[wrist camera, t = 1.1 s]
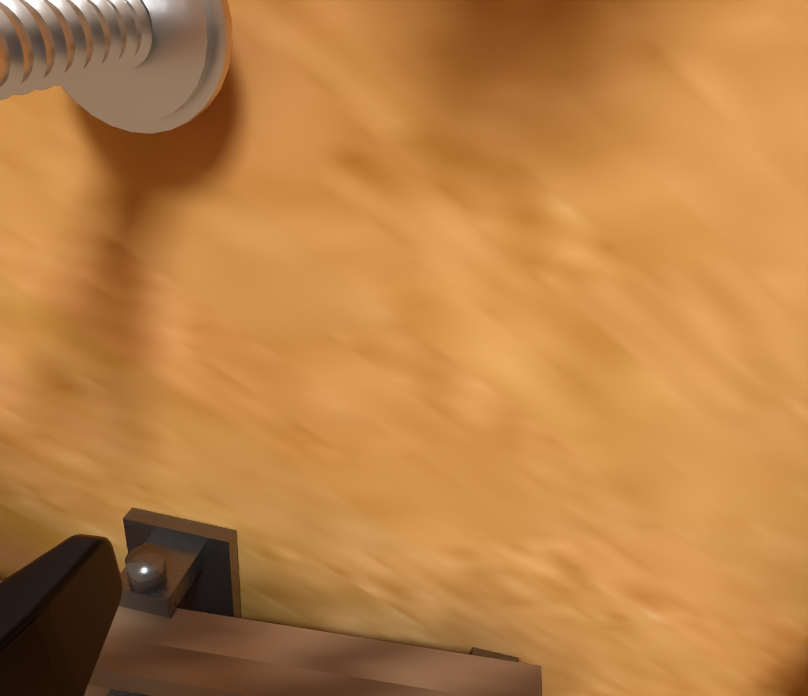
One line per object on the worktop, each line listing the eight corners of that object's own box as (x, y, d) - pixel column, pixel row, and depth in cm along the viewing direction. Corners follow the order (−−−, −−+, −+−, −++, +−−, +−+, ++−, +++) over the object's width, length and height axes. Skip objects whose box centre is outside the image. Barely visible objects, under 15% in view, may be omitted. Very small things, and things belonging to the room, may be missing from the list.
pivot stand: (533, 584, 24) (525, 663, 21) (486, 816, 30) (475, 900, 28) (-117, 443, 28) (-192, 493, 26) (-41, 672, 35) (-95, 732, 32)
